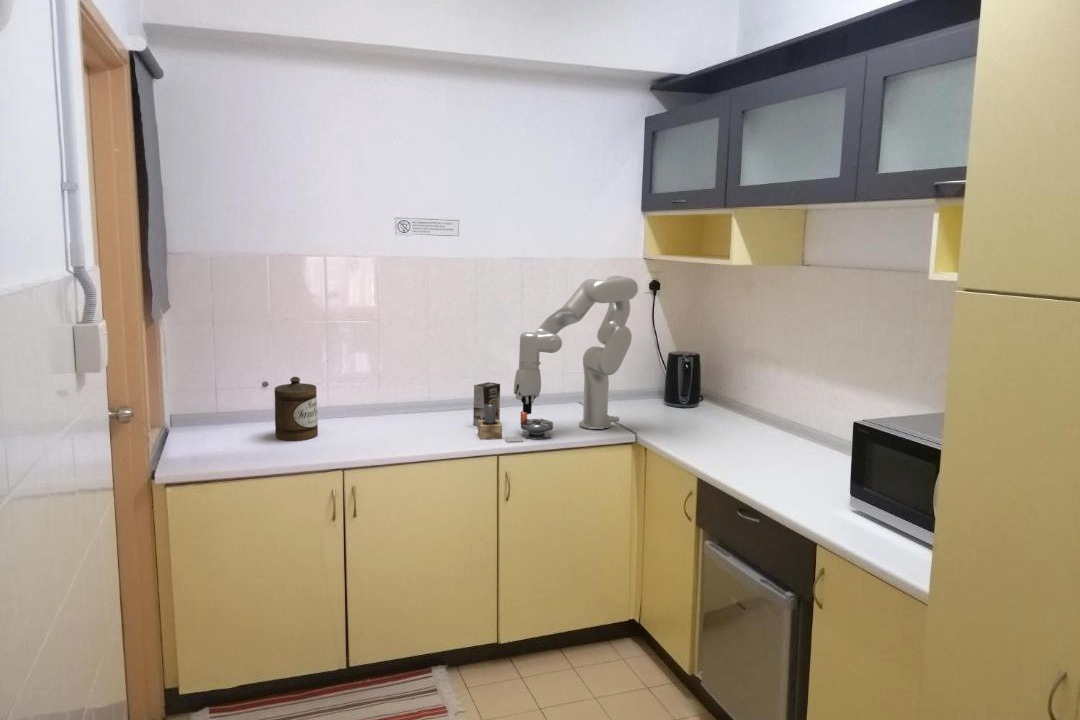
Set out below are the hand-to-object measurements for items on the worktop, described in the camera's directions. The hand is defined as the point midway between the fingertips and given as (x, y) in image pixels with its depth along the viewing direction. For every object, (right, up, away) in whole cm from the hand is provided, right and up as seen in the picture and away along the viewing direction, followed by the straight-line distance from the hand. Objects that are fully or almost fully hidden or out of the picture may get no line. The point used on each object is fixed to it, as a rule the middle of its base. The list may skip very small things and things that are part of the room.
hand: (527, 413), depth 297 cm
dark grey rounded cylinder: (-14, -8, -4) cm, 17 cm away
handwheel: (+4, -5, -3) cm, 7 cm away
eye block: (-14, -8, -4) cm, 17 cm away
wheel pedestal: (+4, -8, -2) cm, 9 cm away
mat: (-5, -9, -9) cm, 14 cm away
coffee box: (-16, -5, +13) cm, 21 cm away
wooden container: (-84, -8, -9) cm, 85 cm away
